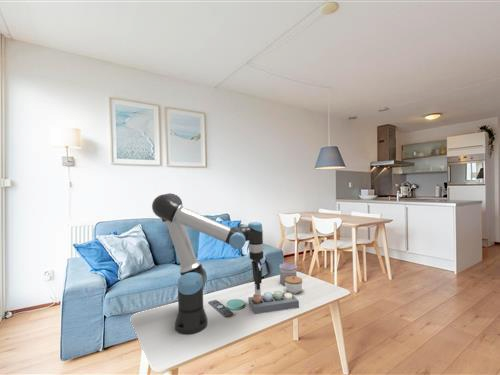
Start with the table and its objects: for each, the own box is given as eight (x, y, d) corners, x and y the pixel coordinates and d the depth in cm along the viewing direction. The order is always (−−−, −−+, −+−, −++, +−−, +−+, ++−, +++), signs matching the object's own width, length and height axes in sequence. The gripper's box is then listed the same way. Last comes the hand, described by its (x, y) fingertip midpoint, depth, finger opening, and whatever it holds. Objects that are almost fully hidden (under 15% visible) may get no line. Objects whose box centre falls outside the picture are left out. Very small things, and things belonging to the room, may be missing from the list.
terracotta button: (254, 304, 135) (254, 297, 135) (252, 300, 139) (252, 294, 139) (262, 303, 136) (262, 296, 136) (260, 299, 140) (259, 293, 140)
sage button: (275, 301, 138) (275, 294, 138) (273, 297, 142) (273, 291, 142) (283, 299, 139) (283, 293, 139) (280, 296, 143) (280, 290, 143)
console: (254, 314, 131) (254, 307, 131) (248, 303, 142) (248, 297, 142) (298, 307, 137) (298, 300, 137) (289, 297, 148) (289, 291, 148)
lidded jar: (301, 288, 161) (301, 273, 161) (303, 295, 151) (303, 280, 151) (284, 287, 162) (284, 273, 162) (285, 295, 152) (285, 279, 152)
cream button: (286, 303, 139) (286, 296, 139) (283, 299, 143) (283, 293, 143) (293, 302, 140) (293, 295, 140) (290, 298, 144) (290, 292, 144)
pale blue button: (265, 302, 136) (265, 296, 136) (262, 299, 140) (262, 292, 140) (273, 301, 137) (272, 295, 137) (270, 297, 141) (270, 291, 141)
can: (300, 283, 169) (300, 265, 169) (289, 288, 162) (289, 269, 161) (287, 278, 178) (286, 261, 178) (276, 283, 170) (275, 265, 170)
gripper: (266, 253, 131) (268, 298, 132) (259, 247, 144) (261, 288, 144) (252, 255, 130) (254, 300, 130) (246, 248, 142) (248, 290, 143)
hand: (257, 294), depth 137 cm, fingers closed
